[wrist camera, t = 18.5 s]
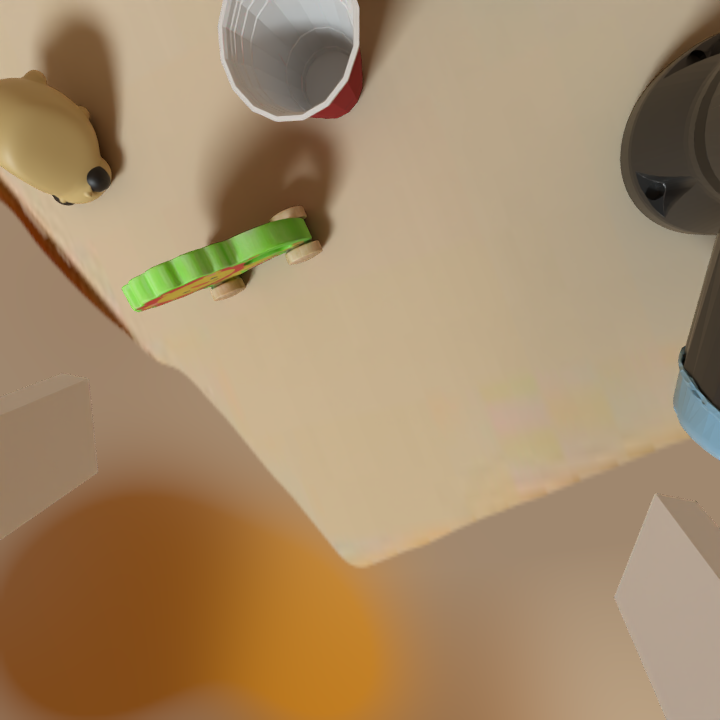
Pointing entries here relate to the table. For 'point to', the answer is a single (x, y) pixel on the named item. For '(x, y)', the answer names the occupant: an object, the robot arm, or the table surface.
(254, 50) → the plastic cup
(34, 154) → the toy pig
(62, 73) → the table surface
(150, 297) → the toy lion
